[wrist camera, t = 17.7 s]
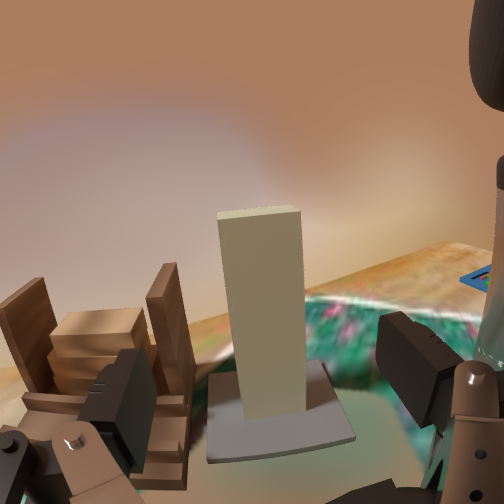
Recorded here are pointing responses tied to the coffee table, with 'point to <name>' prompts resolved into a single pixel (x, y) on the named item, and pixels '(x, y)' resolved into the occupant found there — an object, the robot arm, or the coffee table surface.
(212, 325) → the coffee table surface
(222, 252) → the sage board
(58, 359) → the oak offcut stack
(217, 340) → the coffee table surface
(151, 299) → the walnut rack
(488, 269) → the handheld gaming device
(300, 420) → the grey mat
